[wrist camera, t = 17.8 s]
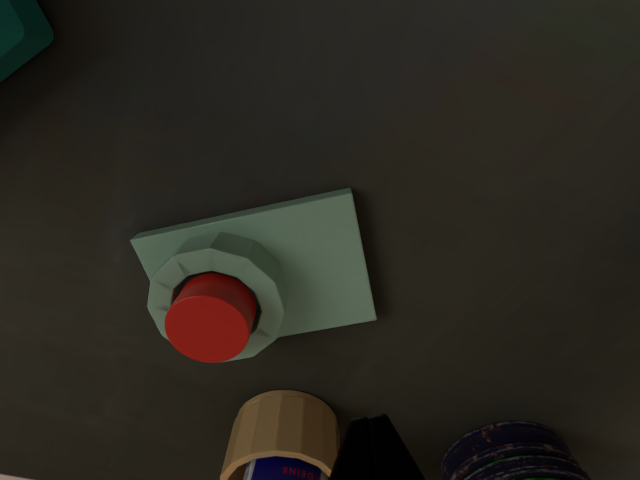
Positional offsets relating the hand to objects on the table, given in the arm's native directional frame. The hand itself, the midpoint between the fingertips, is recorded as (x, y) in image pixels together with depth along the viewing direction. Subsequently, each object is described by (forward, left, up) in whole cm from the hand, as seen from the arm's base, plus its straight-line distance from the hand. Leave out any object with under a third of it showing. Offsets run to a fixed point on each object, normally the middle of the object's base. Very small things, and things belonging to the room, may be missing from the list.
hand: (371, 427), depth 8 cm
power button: (+7, +2, -10) cm, 13 cm away
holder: (+7, +15, -13) cm, 21 cm away
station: (+5, +2, -13) cm, 14 cm away
